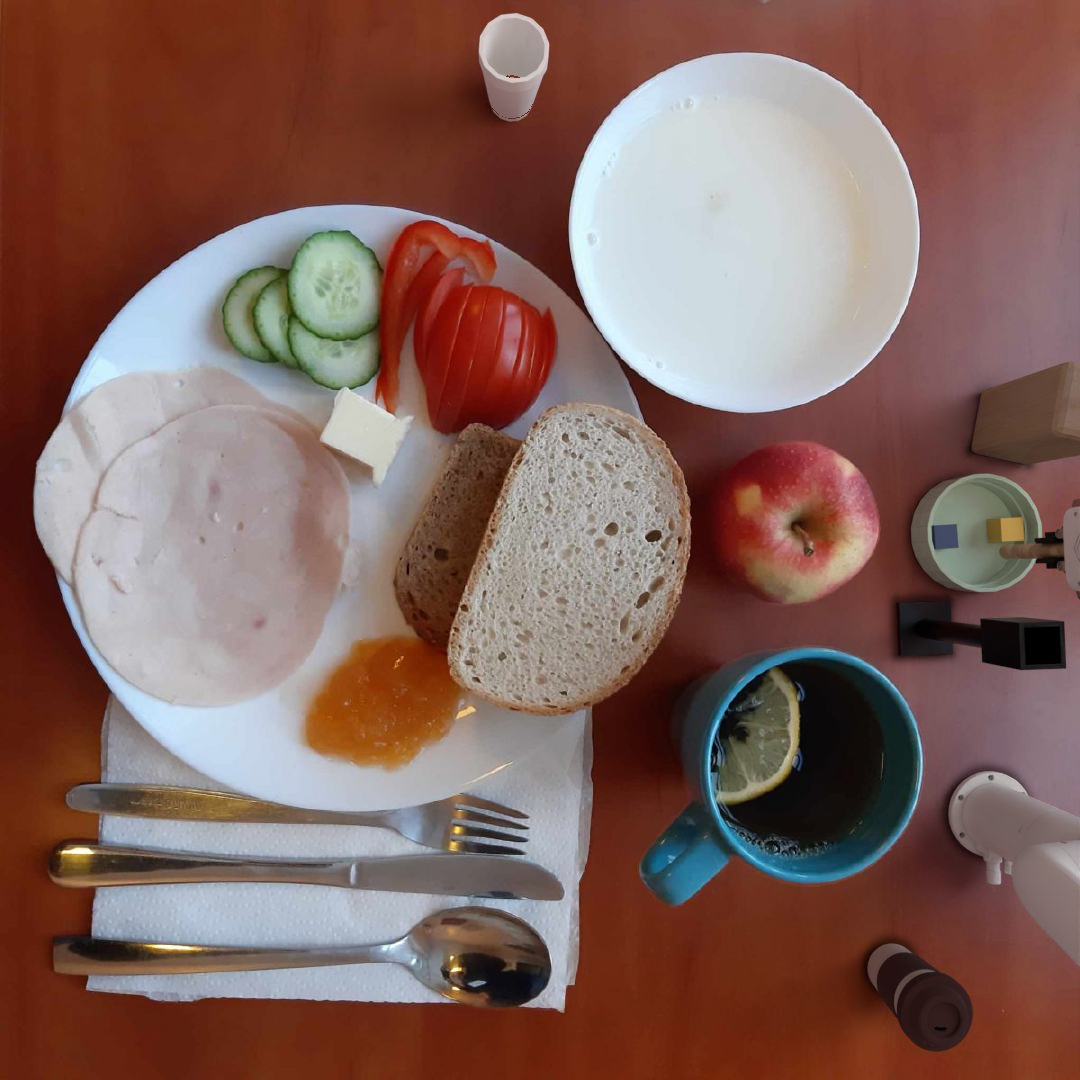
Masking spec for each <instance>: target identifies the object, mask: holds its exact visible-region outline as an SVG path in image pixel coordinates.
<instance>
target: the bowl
mask: <svg viewBox="0 0 1080 1080" xmlns="http://www.w3.org/2000/svg"><path fill="white" fill-rule="evenodd" d="M1014 517H1023V526H1024V541H1011V542H991V543H988V533H987V519H998V518H1014ZM949 524H957V533H958V546H959V548H948V549H934V546H933V543H932V528H931V527H932V526H933V525H949ZM910 538H911V539H910V540H911V546H912V549H913V552H914V556H915V558H916V560H917V562H918V563H919V565H920V567H921V569H922V570H923V571H924V572H925V573H926V574H927V575H928V577H930V578H931V579H932V580H933V581H934V582H936V583H938V584H940V585H941V586H943V587H945V588H947V589H951V590H954V591H958V592H970V593H995V592H999V591H1002V590H1005V589H1009V588H1011V587H1012V586H1014V585H1015V584H1017V583H1018V582H1020V581H1021V580H1022V579H1024V578H1025V577H1026V576H1027V574H1028V573H1029V572H1030V571H1031V570H1032V569H1033V568H1034V565H1035V564H1036V561H1035V560H1037V559H1003V558H1002V557H1001V556H1000V554H999V550H1000V548H1001V547H1002V546H1004V545H1016V544H1034V543H1036V542H1035V541H1034V538H1043V524H1042V519H1041V517H1040V513H1039V510H1038V508H1037V506H1036V504H1035V503H1034V501H1033V499H1032V498H1031V496H1030V494H1028V493H1027V492H1026V491H1025V490H1024V489H1023V488H1022V487H1021V486H1020V485H1019V484H1018V483H1016V482H1015V481H1012V480H1011V479H1009V478H1007V477H1006V476H1001V475H998V474H994V473H972V474H966V475H962V476H956V477H953V478H950V479H946V480H943V481H941V482H940V483H938V484H937V485H935V486H934V487H932V488H931V489H929V490H928V491H927V493H925V495H924V496H923V497H922V498H921V499H920V501H919V503H918V505H917V506H916V509H915V510H914V512H913V517H912V521H911V526H910Z"/></svg>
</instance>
